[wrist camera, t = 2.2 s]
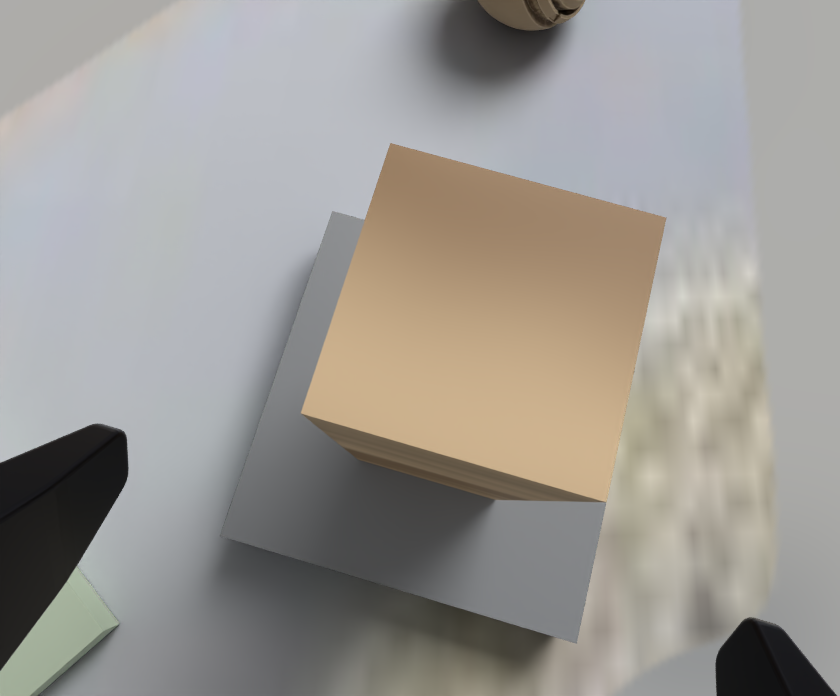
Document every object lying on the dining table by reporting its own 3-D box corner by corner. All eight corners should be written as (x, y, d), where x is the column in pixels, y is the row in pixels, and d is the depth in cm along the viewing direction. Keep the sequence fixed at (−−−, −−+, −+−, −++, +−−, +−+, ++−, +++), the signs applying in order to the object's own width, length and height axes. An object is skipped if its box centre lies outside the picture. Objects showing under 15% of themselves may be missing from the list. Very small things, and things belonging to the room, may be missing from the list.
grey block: (558, 628, 19) (576, 643, 17) (238, 532, 19) (219, 536, 17) (626, 317, 21) (649, 298, 19) (338, 237, 21) (332, 211, 20)
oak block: (495, 499, 18) (606, 502, 8) (358, 459, 18) (300, 413, 8) (529, 364, 19) (665, 217, 9) (398, 327, 19) (390, 143, 9)
